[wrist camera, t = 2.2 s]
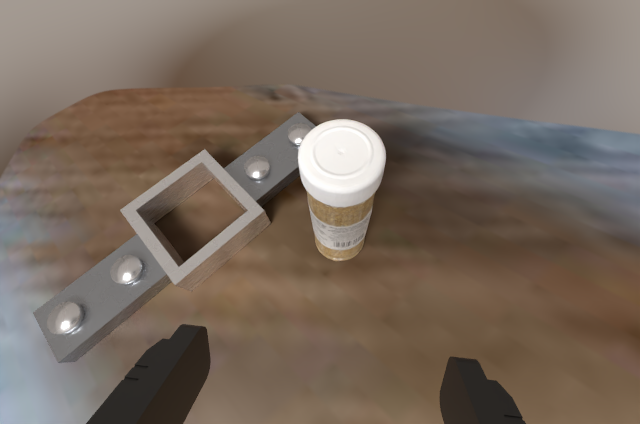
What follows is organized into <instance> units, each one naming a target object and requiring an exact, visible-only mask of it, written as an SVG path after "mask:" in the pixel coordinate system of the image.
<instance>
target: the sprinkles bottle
mask: <svg viewBox="0 0 640 424" xmlns="http://www.w3.org/2000/svg"><path fill="white" fill-rule="evenodd" d="M385 163H386V151H385V147H384V144H383V142H382V140H381V138H380V137H379V136H378V134H377V133H376V132H375V131H374V130H372V129H371V128H370V127H368V126H367V125H365V124H362V123H360V122H357V121H353V120H347V119H338V120H331V121H327V122H324V123H322V124H320V125H318V126H316V127H315V128H313V129H312V130H311V131H310V132H309V133H308V134H307V135H306V136H305V137H304V139H303V141H302V142H301V145H300V147H299V151H298V165H299V171H300V176H301V180H302V183H303V185H304V187H305V188H306V190H307V195H308V204H309V209H310V214H311V219H312V225H313V230H314V233H315V243H316V246H317V248H318V250H319V251H320V253H322V254H323V255H324V256H325V257H327V258H328V259H331V260H334V261H345V260H349V259H351V258H353V257H354V256H356V255H357V254H358V253H359V252H360V250H361V249H362V247H363V244H364V240H365V234H366V231H367V227H368V224H369V220H370V216H371V212H372V207H373V200H374V196H375V191H376V190H377V189H378V187H379V185H380V183H381V180H382V177H383V173H384V168H385Z"/></svg>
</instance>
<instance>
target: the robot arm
mask: <svg viewBox="0 0 640 424" xmlns="http://www.w3.org/2000/svg"><path fill="white" fill-rule="evenodd" d="M209 369H210V352H209V343H208V335H207V329H206V327H203V326H195V325H186V324H182V325H181V326H179V328H178V329H177V330H176V331H175V333H174V334H173V335H172V337H171V338H170V339H162V340H160V341H159V342H158V343H156V344H155V345H153V346H152V347H151V348H149V349H148V350H147V351H146V352H145V353H144V354H143V355H142V357H141V358H140V359H139V360H138V362H137V363H136V364H135V367H134V368H132V369H131V370H130V371H129V372H128V374H127V375H126V376H125V379H124V380H122V381H121V382H120V383H119V385H118V386H117V387H116V388H115V389H114V391H113V392H112V393H111V394H110V395H109V397H108V398H107V399H106V400H105V401H104V403H103V404H102V405H101V406H100V408H99V409H98V410H97V411H96V412H95V414H94V415H93V416H92V417H91V418H90V420H89V421H88V422H87V423H86V424H183V422H184V420H185V419H186V417H187V415H188V413H189V411H190V409H191V407H192V405H193V403H194V402H195V400H196V398H197V396H198V394H199V392H200V390H201V388H202V386H203V385H204V383H205V381H206V379H207V376H208V373H209ZM440 408H441V413H442V417H443V421H444V424H526V423H525V421H523V420H522V416H521V414H520V412H519V410H518V408H517V406H516V404H515V402H514V400H513V398H512V397H511V396H510V395H509V394H508V393H507V392H506V390H505V389H504V388H503V387H502V386H501V385H500V384H499V383H498V382H497V381H494V380H487V378H486V376H485V374H484V372H483V370H482V368H481V365H480V364H479V362H478V361H477V360H476V359H467V358H459V357H450V358H449V360H448V363H447V367H446V371H445V374H444V378H443V382H442V386H441V390H440Z"/></svg>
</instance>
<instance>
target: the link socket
mask: <svg viewBox="0 0 640 424" xmlns="http://www.w3.org/2000/svg"><path fill="white" fill-rule="evenodd" d="M212 179H215V180H216V181H217V182H218V183H219V184H220V185H221V187H222V188H223V189H224V190H225V191H226V192H227V193H228V194H229V195H230V196H231V197H232V198H233V199H234V200H235V201H236V202H237V204H238V205H239V206H240V207H241V208H242V209H243V210H244V211H245V213H244V214H243V215H242V216H241V217H239V218H238V219H237V220H236V221H235V222H233V223H232V224H231V225H230V226H228V227H227V228H226V229H225V230H224V231H222V232H221V233H220V234H219V235H217V236H216V237H215V238H214V239H213V240H211V241H210V242H209V243H208V244H206V245H205V246H204V247H203V248H202V249H200V250H199V251H198V252H197V253H196V254H194V255H193V256H192V257H191V258H189V259H188V260H187V261H186V262H184V260H183V259H182V258H181V257H180V255H179V254H178V253H177V251H176V250H175V249H174V248H173V246H172V245H171V244H170V242H169V241H168V240H167V238H166V237H165V236H164V235H163V233H162V232H161V231H160V229H159V228H158V227H157V226H156V224H155V223H156V222H157V221H158V220H160V219H161V218H162V217H163V216H165V215H166V214H167V213H169V212H170V211H171V210H173V209H174V208H175V207H177V206H178V205H179V204H181V203H182V202H183V201H185V200H186V199H187V198H189V197H190V196H191V195H192V194H194V193H195V192H196V191H198V190H199V189H200V188H202V187H203V186H204V185H206V184H207V183H208V182H210V181H211V180H212ZM120 211H121V212H122V214H123V215H124V216H125V218H126V219H127V220H128V222H129V223H130V225H131V226H132V227H133V229H134V230H135V231H136V233H137V234H138V235H139V237H140V238H141V240H142V241H143V242H144V244H145V245H146V246H147V248H148V249H149V251H150V252H151V253H152V255H153V256H154V257H155V259H156V260H157V261H158V263H159V264H160V266H161V267H162V268H163V270H164V271H165V272H166V274H167V275H168V276H169V278H170V279H171V281H172V282H173V283H174V285H176V286H178V287H181V288H184V289H186V290H189V291H191V292H192V291H193V290H194V289H195V288H197V287H198V286H199V285H200V284H201V283H203V282H204V281H205V280H206V279H207V278H208V277H210V276H211V275H212V274H213V273H214V272H215V271H217V270H218V269H219V268H220V267H221V266H222V265H224V264H225V263H226V262H227V261H228V260H229V259H231V258H232V257H233V256H234V255H235V254H236V253H238V252H239V251H240V250H241V249H242V248H243V247H245V246H246V245H247V244H248V243H249V242H250V241H252V240H253V239H254V238H255V237H256V236H257V235H259V234H260V233H261V232H262V231H263V230H264V229H266V228H267V227H268V226H269V225H270V224H271V222H270V220H269V219H268V217H267V215H266V213H265V211H264V210H263V209H262V208H261V207H260V206H259V205H258V204H257V203H256V201H255V200H254V199H253V198H252V197H251V196H250V195H249V194H248V193H247V192H246V191H245V190H244V189H243V188H242V187H241V186H240V185H239V184H238V183H237V182H236V181H235V180H234V179H233V178H232V177H231V176H230V175H229V174H228V173H227V172H226V171H225V170H224V169H223V168H222V167H221V166H220V165H219V164H218V162H217V161H216V160H215V159H214V158H213V157H212V156H211V155H210V154H209V153H208V152H207V151H206V150H205V149H204V150H203V151H201V152H200V153H199V154H197V155H196V156H195V157H193V158H192V159H190V160H189V161H188V162H186V163H185V164H183V165H182V166H181V167H179V168H178V169H177V170H175V171H174V172H172V173H171V174H170V175H168V176H167V177H165V178H164V179H163V180H161V181H160V182H158V183H157V184H156V185H154V186H153V187H152V188H150V189H149V190H147V191H146V192H145V193H143V194H142V195H140V196H139V197H138V198H136V199H135V200H134V201H132V202H131V203H129V204H128V205H127V206H125V207H124V208H122V209H121V210H120Z"/></svg>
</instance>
